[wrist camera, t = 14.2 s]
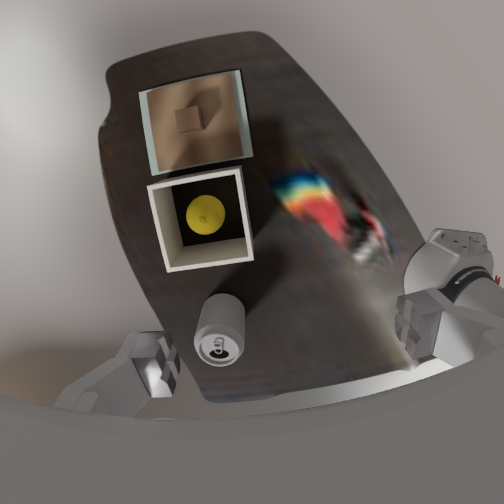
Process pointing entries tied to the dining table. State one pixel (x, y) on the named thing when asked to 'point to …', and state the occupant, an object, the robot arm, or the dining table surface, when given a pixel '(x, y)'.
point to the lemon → (205, 214)
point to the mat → (240, 116)
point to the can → (221, 330)
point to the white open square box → (201, 253)
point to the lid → (194, 122)
